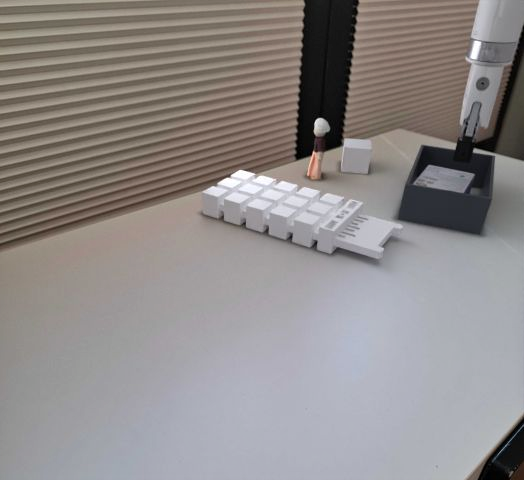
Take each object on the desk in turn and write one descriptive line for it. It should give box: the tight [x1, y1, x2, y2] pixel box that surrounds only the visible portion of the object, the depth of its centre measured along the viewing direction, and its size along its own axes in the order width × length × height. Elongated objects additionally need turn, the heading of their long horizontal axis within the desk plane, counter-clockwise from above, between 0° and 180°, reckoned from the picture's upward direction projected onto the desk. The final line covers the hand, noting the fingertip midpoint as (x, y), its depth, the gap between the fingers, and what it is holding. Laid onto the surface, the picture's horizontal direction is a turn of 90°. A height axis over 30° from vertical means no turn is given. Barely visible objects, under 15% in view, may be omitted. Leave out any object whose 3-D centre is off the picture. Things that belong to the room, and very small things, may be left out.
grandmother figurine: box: [306, 117, 331, 181], centre depth 108 cm, size 8×4×13 cm, turn 6°
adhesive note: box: [340, 137, 373, 175], centre depth 115 cm, size 6×6×6 cm
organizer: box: [201, 169, 404, 260], centre depth 93 cm, size 13×5×35 cm
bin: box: [397, 144, 496, 236], centre depth 102 cm, size 23×15×8 cm, turn 159°
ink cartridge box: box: [413, 165, 475, 194], centre depth 101 cm, size 10×6×14 cm
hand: (461, 160), depth 97 cm, fingers closed
